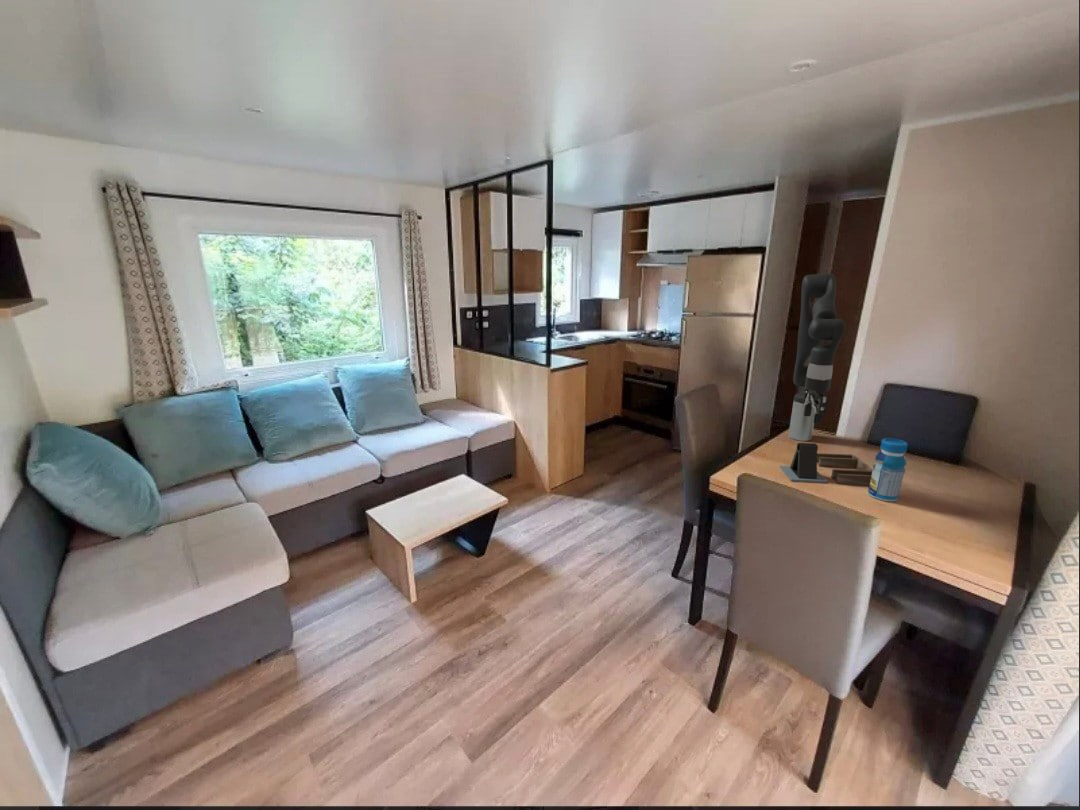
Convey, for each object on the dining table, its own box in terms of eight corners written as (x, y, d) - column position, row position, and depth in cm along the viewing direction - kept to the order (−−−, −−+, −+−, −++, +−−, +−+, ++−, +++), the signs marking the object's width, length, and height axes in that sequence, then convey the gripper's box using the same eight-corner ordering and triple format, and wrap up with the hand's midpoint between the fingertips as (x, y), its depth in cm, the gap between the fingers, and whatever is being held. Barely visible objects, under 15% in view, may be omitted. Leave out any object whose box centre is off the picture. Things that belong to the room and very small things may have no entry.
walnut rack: (813, 461, 177) (815, 453, 176) (852, 462, 175) (853, 454, 174) (837, 483, 158) (839, 474, 157) (880, 485, 156) (882, 476, 155)
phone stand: (789, 467, 170) (794, 439, 166) (806, 468, 168) (811, 439, 165) (798, 478, 161) (803, 448, 158) (816, 479, 160) (822, 448, 157)
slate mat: (779, 467, 172) (779, 465, 172) (812, 469, 170) (813, 467, 170) (791, 481, 161) (791, 479, 160) (826, 483, 159) (827, 481, 158)
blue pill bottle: (887, 504, 144) (901, 447, 138) (861, 493, 151) (872, 439, 145) (904, 499, 147) (917, 443, 141) (877, 488, 154) (889, 435, 148)
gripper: (799, 371, 162) (793, 413, 166) (815, 381, 148) (808, 426, 153) (821, 372, 160) (814, 414, 165) (840, 381, 147) (832, 426, 152)
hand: (811, 419), depth 159 cm, fingers open, 8 cm apart
